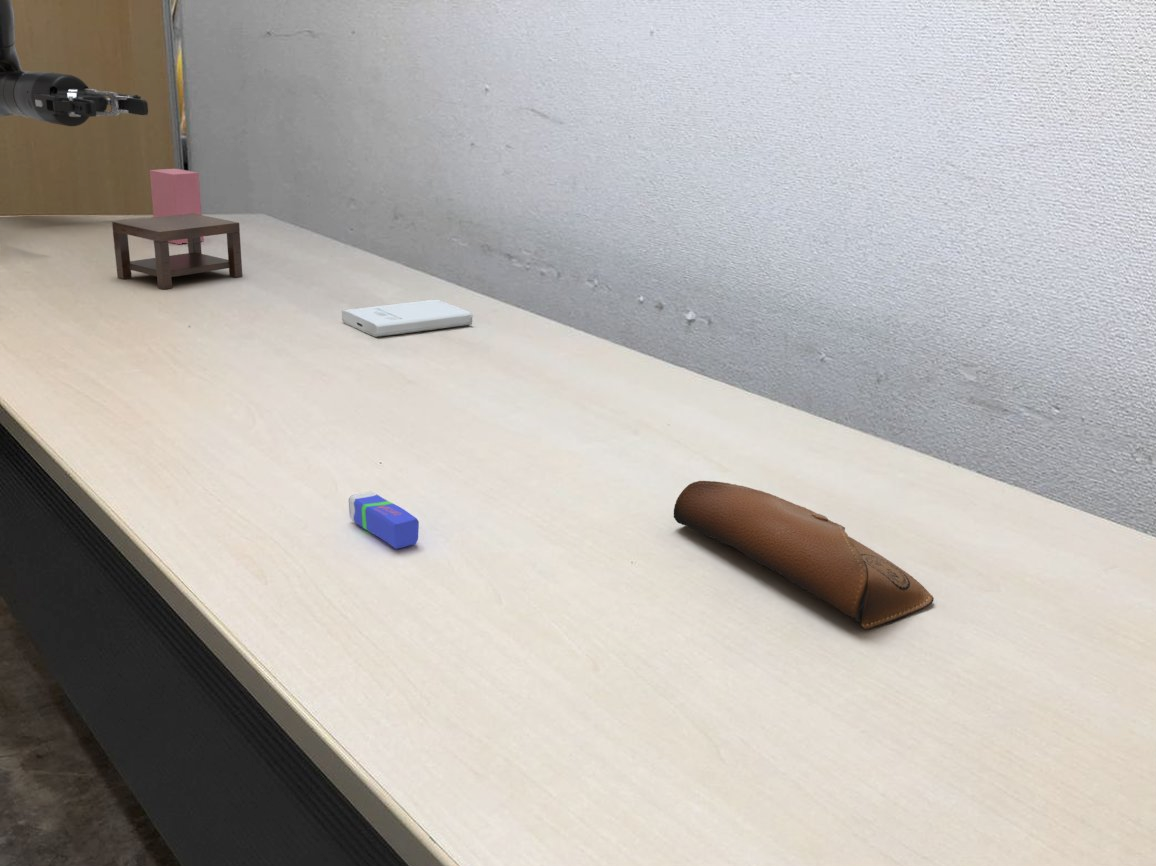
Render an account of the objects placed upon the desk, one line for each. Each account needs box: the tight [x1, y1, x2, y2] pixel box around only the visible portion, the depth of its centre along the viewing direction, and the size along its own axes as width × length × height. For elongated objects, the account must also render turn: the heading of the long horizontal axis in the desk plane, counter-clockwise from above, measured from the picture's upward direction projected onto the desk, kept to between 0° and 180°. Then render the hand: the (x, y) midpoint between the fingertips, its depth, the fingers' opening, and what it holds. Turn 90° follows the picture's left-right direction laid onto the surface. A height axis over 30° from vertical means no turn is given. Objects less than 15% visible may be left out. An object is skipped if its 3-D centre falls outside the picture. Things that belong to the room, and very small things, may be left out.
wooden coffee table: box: [111, 213, 243, 290], centre depth 143 cm, size 12×9×7 cm
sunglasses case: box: [673, 480, 934, 631], centre depth 76 cm, size 18×7×7 cm
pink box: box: [149, 168, 204, 245], centre depth 165 cm, size 4×5×10 cm
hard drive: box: [341, 299, 473, 338], centre depth 130 cm, size 2×8×12 cm
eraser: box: [348, 490, 420, 550], centre depth 76 cm, size 2×6×2 cm, turn 42°
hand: (120, 108), depth 165 cm, fingers open, 8 cm apart
